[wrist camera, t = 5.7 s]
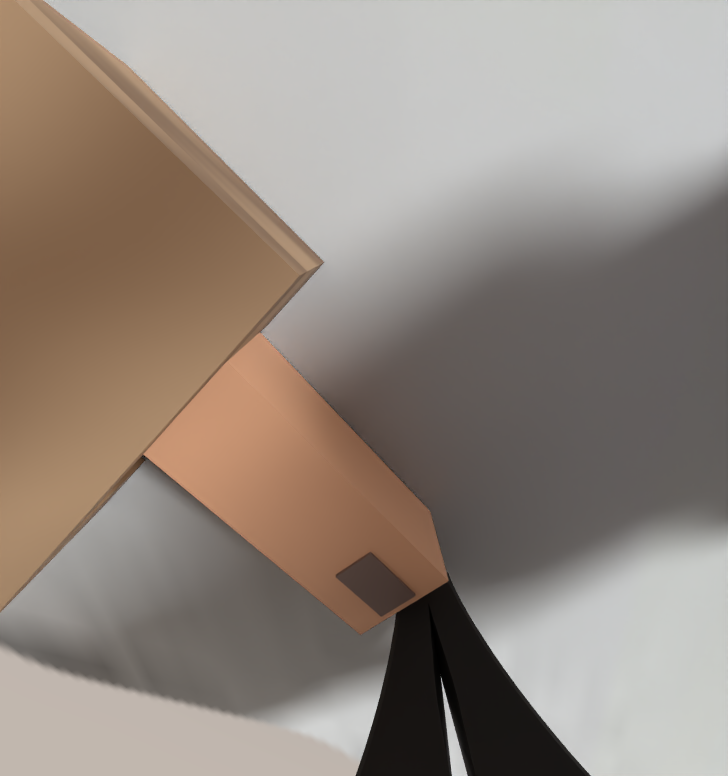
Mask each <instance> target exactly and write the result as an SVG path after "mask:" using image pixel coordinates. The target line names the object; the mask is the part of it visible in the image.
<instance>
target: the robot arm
mask: <svg viewBox="0 0 728 776" xmlns="http://www.w3.org/2000/svg"><path fill="white" fill-rule="evenodd" d="M447 576H448V579H449V581H448V582H446V583H445V584H443V585H441V586H440V587H438V588H436V589H435V590H433V591H432V592H430V593H428V594H427V595H425V596H423V597H422V598H420V599H418V600H417V601H415V602H414V603H412V604H410V605H409V606H407V607H405V608H404V609H402V610H400V611H399V612H397V613H396V619H395V627H394V633H393V638H392V644H391V650H390V655H389V660H388V665H387V669H386V673H385V678H384V682H383V686H382V690H381V694H380V698H379V702H378V706H377V710H376V713H375V717H374V720H373V724H372V727H371V730H370V734H369V737H368V740H367V744H366V747H365V750H364V753H363V756H362V759H361V762H360V765H359V768H358V771H357V774H356V776H452V773H451V764H450V755H449V746H448V737H447V728H446V719H445V710H444V701H443V692H442V683H441V678H442V682H443V686H444V689H445V693H446V697H447V700H448V704H449V708H450V712H451V715H452V719H453V723H454V726H455V730H456V734H457V737H458V741H459V745H460V749H461V752H462V756H463V760H464V763H465V767H466V771H467V775H468V776H590V774H589V773H588V772H587V771H586V770H585V769H584V768H583V767H582V766H581V764H580V763H579V762H578V761H577V760H576V759H575V758H574V757H573V756H572V754H571V753H570V752H569V751H568V750H567V749H566V747H565V746H564V745H563V744H562V743H561V741H560V740H559V739H558V738H557V737H556V735H555V734H554V733H553V732H552V731H551V729H550V728H549V727H548V726H547V725H546V723H545V722H544V721H543V720H542V718H541V717H540V716H539V715H538V713H537V712H536V711H535V710H534V708H533V707H532V706H531V704H530V703H529V702H528V701H527V699H526V698H525V697H524V695H523V694H522V693H521V691H520V690H519V689H518V687H517V686H516V685H515V683H514V682H513V681H512V679H511V678H510V676H509V675H508V674H507V672H506V671H505V669H504V668H503V667H502V665H501V664H500V662H499V661H498V659H497V658H496V657H495V655H494V654H493V652H492V651H491V649H490V648H489V646H488V645H487V643H486V641H485V640H484V638H483V637H482V635H481V634H480V632H479V631H478V629H477V627H476V626H475V624H474V623H473V621H472V619H471V618H470V616H469V614H468V612H467V611H466V609H465V607H464V605H463V603H462V602H461V600H460V598H459V596H458V594H457V592H456V590H455V588H454V586H453V584H452V581H451V579H450V577H449V574H448V573H447ZM440 674H441V675H440Z"/></svg>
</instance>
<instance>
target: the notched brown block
mask: <svg viewBox="0 0 728 776" xmlns="http://www.w3.org/2000/svg"><path fill="white" fill-rule="evenodd" d="M323 263H324V262H323V261H322V260H321V259H320V258H319V257H318V256H317V255H316V254H315V253H314V252H313V251H312V250H311V249H310V248H309V247H308V246H307V245H306V244H305V243H304V242H303V241H302V240H301V239H300V238H299V237H298V236H297V235H296V234H295V233H294V232H293V231H292V230H291V229H290V228H289V227H288V226H287V225H286V224H285V223H284V222H283V221H282V220H281V219H280V218H279V217H278V216H277V215H276V214H275V213H274V212H273V211H272V210H271V209H270V208H269V207H268V206H267V205H266V204H265V203H264V202H263V201H262V200H261V199H260V198H259V197H258V196H257V195H256V194H255V193H254V192H253V191H252V190H251V189H250V188H249V187H248V186H247V185H246V184H245V183H244V182H243V181H242V180H241V179H240V178H239V177H238V176H237V175H236V174H235V173H234V172H233V171H232V170H231V169H230V168H229V167H228V166H227V165H226V164H225V163H224V162H223V161H222V160H221V159H220V158H219V157H218V156H217V155H216V154H215V153H214V152H213V151H212V150H211V149H210V148H209V147H208V146H207V145H206V144H205V143H204V142H203V141H202V140H201V139H200V138H199V137H198V136H197V135H196V134H195V133H194V132H193V131H192V130H191V129H190V128H189V127H188V126H187V125H186V124H185V123H184V122H183V121H182V120H181V119H180V118H179V117H178V116H177V115H176V114H175V113H174V112H173V111H172V110H171V109H170V108H169V107H168V106H167V105H166V104H165V103H164V102H163V101H162V100H161V99H160V98H159V97H158V96H157V95H156V94H155V93H154V92H153V91H152V90H151V89H150V88H149V87H148V86H147V85H146V84H145V83H144V82H143V81H142V80H141V79H140V78H139V77H138V76H137V75H136V74H135V73H134V72H133V71H132V70H131V69H130V68H129V67H128V66H127V65H126V64H125V63H123V62H122V61H121V60H120V59H118V58H117V57H116V56H114V55H113V54H112V53H111V52H109V51H108V50H107V49H105V48H104V47H103V46H101V45H100V44H99V43H98V42H96V41H95V40H94V39H92V38H91V37H90V36H89V35H87V34H86V33H85V32H83V31H82V30H81V29H79V28H78V27H77V26H76V25H74V24H73V23H72V22H70V21H69V20H68V19H67V18H65V17H64V16H63V15H61V14H60V13H59V12H57V11H56V10H55V9H54V8H52V7H51V6H50V5H48V4H47V3H46V2H45V1H43V0H0V612H1V611H2V610H3V609H4V608H5V607H6V606H7V605H8V604H9V603H10V602H11V601H12V600H13V599H14V598H15V597H16V596H17V595H18V594H19V593H20V592H21V591H22V590H23V589H24V588H25V587H26V585H27V584H28V583H29V582H30V581H31V580H32V579H33V578H34V577H35V576H36V575H37V574H38V573H39V572H40V571H41V570H42V569H43V568H44V567H45V566H46V565H47V564H48V563H49V562H50V561H51V560H52V559H53V558H54V557H55V556H56V555H57V554H58V553H59V552H60V550H61V549H62V548H63V547H64V546H65V545H66V544H67V543H68V542H69V541H70V540H71V539H72V538H73V537H74V536H75V535H76V534H77V533H78V532H79V531H80V530H81V529H82V528H83V527H84V526H85V525H86V524H87V523H88V522H89V521H90V520H91V519H92V518H93V517H94V515H95V514H96V513H97V512H98V511H99V510H100V509H101V508H102V507H103V506H104V505H105V504H106V503H107V502H108V501H109V500H110V499H111V497H112V496H113V495H114V494H115V493H116V492H117V491H118V490H119V489H120V488H121V486H122V485H123V484H124V483H125V482H126V481H127V480H128V479H129V478H130V476H131V475H132V474H133V473H134V472H135V471H136V470H137V469H138V468H139V467H140V465H141V464H142V463H143V462H144V461H145V459H143V458H142V457H141V456H142V455H143V454H144V453H145V452H146V451H147V450H148V448H149V447H150V446H151V445H152V444H153V443H154V442H155V441H156V440H157V438H158V437H159V436H160V435H161V434H162V433H163V432H164V431H165V430H166V428H167V427H168V426H169V425H170V424H171V423H172V422H173V421H174V420H175V418H176V417H177V416H178V415H179V414H180V413H181V412H182V411H183V409H184V408H185V407H186V406H187V405H188V404H189V403H190V402H191V401H192V399H193V398H194V397H195V396H196V395H197V394H198V393H199V392H200V391H201V389H202V388H203V387H204V386H205V385H206V384H207V383H208V382H209V381H210V379H211V378H212V377H213V376H214V375H215V374H216V373H217V372H218V370H219V369H220V368H221V367H222V366H223V365H224V364H225V363H226V362H227V361H228V360H229V359H230V358H232V357H233V356H234V355H235V354H236V353H237V352H238V351H239V350H240V349H242V348H243V347H244V346H245V345H246V344H247V343H248V342H249V341H251V340H252V339H253V338H254V337H255V336H256V335H257V334H258V333H259V332H261V331H262V330H263V329H264V328H265V327H266V326H267V325H268V324H269V323H270V322H271V321H272V319H273V318H274V317H275V316H276V315H277V314H278V313H279V312H280V311H281V310H282V308H283V307H284V306H285V305H286V304H287V303H288V302H289V301H290V300H291V298H292V297H293V296H294V295H295V294H296V293H297V292H298V291H299V290H300V289H301V287H302V286H303V285H304V284H305V283H306V282H307V281H308V280H309V279H310V277H311V276H312V275H313V274H314V273H315V272H316V271H317V270H318V269H319V268H320V266H321V265H322V264H323Z"/></svg>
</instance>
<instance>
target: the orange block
mask: <svg viewBox="0 0 728 776" xmlns="http://www.w3.org/2000/svg"><path fill="white" fill-rule="evenodd" d="M143 455H145V456H146V457H147V458H148V459H149V460H151V461H152V462H153V463H154V464H155V465H157V466H158V467H159V468H160V469H161V470H163V471H164V472H165V473H166V474H167V475H169V476H170V477H171V478H172V479H174V480H175V481H176V482H177V483H178V484H180V485H181V486H182V487H183V488H184V489H186V490H187V491H188V492H189V493H190V494H192V495H193V496H194V497H195V498H196V499H198V500H199V501H200V502H201V503H202V504H204V505H205V506H206V507H207V508H208V509H210V510H211V511H212V512H213V513H214V514H216V515H217V516H218V517H219V518H220V519H222V520H223V521H224V522H225V523H226V524H228V525H229V526H230V527H231V528H232V529H234V530H235V531H236V532H237V533H239V534H240V535H241V536H242V537H243V538H245V539H246V540H247V541H248V542H249V543H251V544H252V545H253V546H254V547H255V548H257V549H258V550H259V551H260V552H261V553H263V554H264V555H265V556H266V557H267V558H269V559H270V560H271V561H272V562H273V563H275V564H276V565H277V566H278V567H279V568H281V569H282V570H283V571H284V572H285V573H287V574H288V575H289V576H290V577H291V578H293V579H294V580H295V581H296V582H297V583H299V584H300V585H301V586H302V587H304V588H305V589H306V590H307V591H308V592H310V593H311V594H312V595H313V596H314V597H316V598H317V599H318V600H319V601H320V602H322V603H323V604H324V605H325V606H326V607H328V608H329V609H330V610H331V611H332V612H334V613H335V614H336V615H337V616H338V617H340V618H341V619H342V620H343V621H344V622H346V623H347V624H348V625H349V626H350V627H352V628H353V629H354V630H355V631H356V632H358V633H359V634H360V635H361V634H363V633H364V632H366V631H368V630H369V629H371V628H373V627H374V626H376V625H377V624H379V623H381V622H382V621H384V620H386V619H387V618H389V617H391V616H392V615H394V614H395V613H397V612H399V611H400V610H402V609H404V608H405V607H407V606H409V605H410V604H412V603H414V602H415V601H417V600H418V599H420V598H422V597H423V596H425V595H427V594H428V593H430V592H432V591H433V590H435V589H436V588H438V587H440V586H441V585H443V584H445V583H446V582H448V581H449V579H448V576H447V572H446V568H445V565H444V561H443V557H442V554H441V550H440V546H439V542H438V539H437V535H436V531H435V528H434V524H433V520H432V516H431V513H430V511H429V510H428V509H427V508H426V506H425V505H424V504H423V503H422V502H421V501H420V500H419V499H418V498H417V497H416V496H415V495H414V494H413V493H412V492H411V491H410V490H409V489H408V488H407V486H406V485H405V484H404V483H403V482H402V481H401V480H400V479H399V478H398V477H397V476H396V475H395V474H394V473H393V472H392V471H391V470H390V469H389V468H388V466H387V465H386V464H385V463H384V462H383V461H382V460H381V459H380V458H379V457H378V456H377V455H376V454H375V453H374V452H373V451H372V450H371V449H370V448H369V446H368V445H367V444H366V443H365V442H364V441H363V440H362V439H361V438H360V437H359V436H358V435H357V434H356V433H355V432H354V431H353V430H352V429H351V428H350V426H349V425H348V424H347V423H346V422H345V421H344V420H343V419H342V418H341V417H340V416H339V415H338V414H337V413H336V412H335V411H334V410H333V409H332V408H331V406H330V405H329V404H328V403H327V402H326V401H325V400H324V399H323V398H322V397H321V396H320V395H319V394H318V393H317V392H316V391H315V390H314V389H313V388H312V386H311V385H310V384H309V383H308V382H307V381H306V380H305V379H304V378H303V377H302V376H301V375H300V374H299V373H298V372H297V371H296V370H295V369H294V368H293V366H292V365H291V364H290V363H289V362H288V361H287V360H286V359H285V358H284V357H283V356H282V355H281V354H280V353H279V352H278V351H277V350H276V349H275V348H274V347H273V345H272V344H271V343H270V342H269V341H268V340H267V339H266V338H265V337H264V336H263V335H262V334H261V333H260V332H259V333H258V334H257V335H256V336H255V337H254V338H253V339H252V340H251V341H249V342H248V343H247V344H246V345H245V346H244V347H243V348H242V349H240V350H239V351H238V352H237V353H236V354H235V355H234V356H233V357H232V358H230V359H229V360H228V361H227V362H226V363H225V364H224V365H223V366H222V367H221V368H220V369H219V370H218V372H217V373H216V374H215V375H214V376H213V377H212V378H211V379H210V381H209V382H208V383H207V384H206V385H205V386H204V387H203V388H202V389H201V391H200V392H199V393H198V394H197V395H196V396H195V397H194V398H193V399H192V401H191V402H190V403H189V404H188V405H187V406H186V407H185V408H184V409H183V411H182V412H181V413H180V414H179V415H178V416H177V417H176V418H175V420H174V421H173V422H172V423H171V424H170V425H169V426H168V427H167V428H166V430H165V431H164V432H163V433H162V434H161V435H160V436H159V437H158V438H157V440H156V441H155V442H154V443H153V444H152V445H151V446H150V447H149V448H148V450H147V451H146V452H145V453H144V454H143Z"/></svg>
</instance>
